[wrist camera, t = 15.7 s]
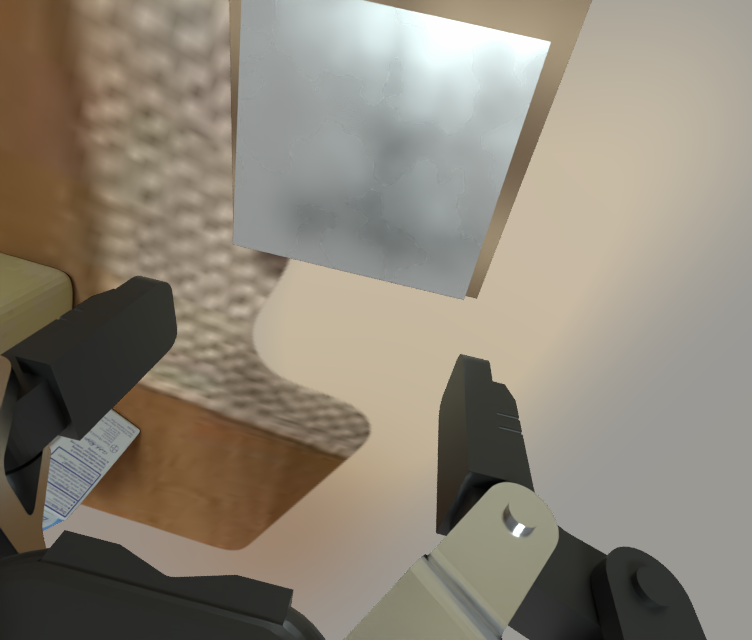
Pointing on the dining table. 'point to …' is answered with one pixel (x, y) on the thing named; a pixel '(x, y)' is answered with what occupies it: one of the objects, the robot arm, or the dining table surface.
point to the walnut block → (495, 11)
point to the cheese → (29, 298)
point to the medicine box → (83, 465)
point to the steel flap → (376, 136)
